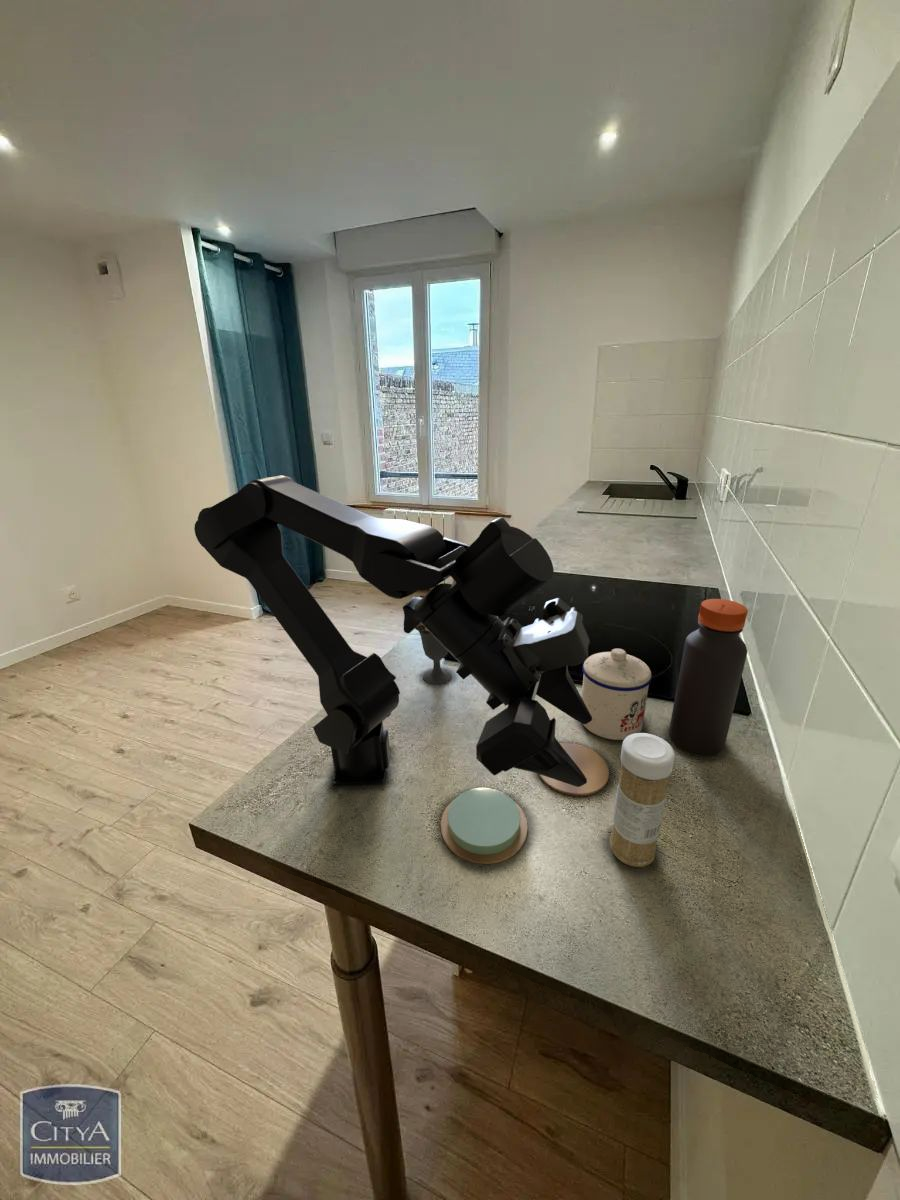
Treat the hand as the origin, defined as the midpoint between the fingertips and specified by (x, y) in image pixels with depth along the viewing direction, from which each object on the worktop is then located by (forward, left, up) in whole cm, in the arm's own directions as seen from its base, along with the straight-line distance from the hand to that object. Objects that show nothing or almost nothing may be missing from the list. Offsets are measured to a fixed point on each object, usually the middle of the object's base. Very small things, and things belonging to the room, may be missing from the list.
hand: (586, 750), depth 46 cm
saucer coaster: (-10, +2, -12) cm, 16 cm away
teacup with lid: (+11, +20, -12) cm, 26 cm away
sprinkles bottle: (+5, -2, -12) cm, 13 cm away
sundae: (-15, +33, -12) cm, 38 cm away
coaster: (+2, +10, -12) cm, 16 cm away
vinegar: (+20, +14, -12) cm, 27 cm away
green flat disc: (-10, +2, -11) cm, 15 cm away
